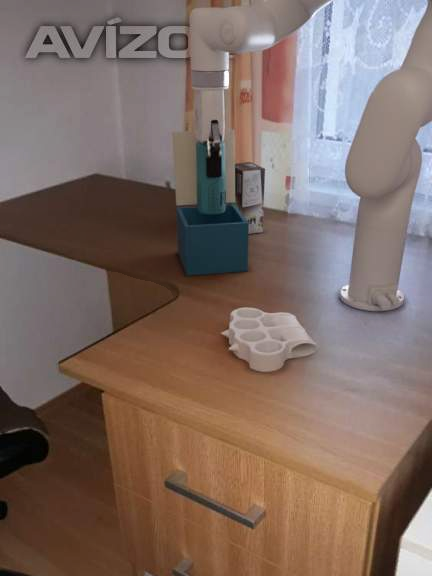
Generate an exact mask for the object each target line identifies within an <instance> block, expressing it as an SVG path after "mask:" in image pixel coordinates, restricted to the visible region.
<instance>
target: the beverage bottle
mask: <svg viewBox="0 0 432 576" xmlns="http://www.w3.org/2000/svg"><path fill="white" fill-rule="evenodd" d="M209 141H213V139H209ZM211 146H212V145H210V147H211ZM210 150H211V149H210ZM206 157H207V144H206V141H204V143H201V142H200V141H199V140H198V141H197V143H196V168H197V179H196V180H197V189H196V191H197V203H198V204H197V206H198V211H199V212H200V213H203V214H220V213H223V212H224V211H225V208H226V205H227V203H226V192H225V188H226V186H225V178H226V177H225V171H226V170H225V163H226V162H225V143H224V141H223V142H221V157H222V176H221V177H213V178H208V177H207V176H206Z"/></svg>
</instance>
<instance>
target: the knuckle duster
mask: <svg viewBox="0 0 432 576" xmlns="http://www.w3.org/2000/svg"><path fill="white" fill-rule="evenodd" d="M228 324H229V325H228V329H226V330H224V331H222V332H220V333H219V334H220V335H222V336H224V337H226V338H227V339H228V344H229V345H230V346H229V348H228V349H227V350H228V351H231V352H232V353H233V354H234V355H235V356H236V357H237V358H239V359H240V360H243V361H245V362H247V363H248V365H249V368H250V369H251V370H253V371H256V372H261V373H273V372H276V371H279V370H280V369H282V368H283V366H284V365H285V362H286V361H288V360H290V359H299V358H303V357H308V356H310V355H312V354H314V353H315V352H316V351H317V343H316V342H315V341H313V340H312V338H311V337H310V336H309V334H308V333H307V332H306V331H307V330H306V329H305V328H304V327H303V326H302V325H301V323H300V322H299V321H298V320H297V316H296V315H294V314H292V313H289V312H281V311H279V312H267V311H263V310H261V309H259V308H255V307H246V306H245V307H239V308H236V309H234V310H232V311H230V314H229V323H228Z"/></svg>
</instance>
